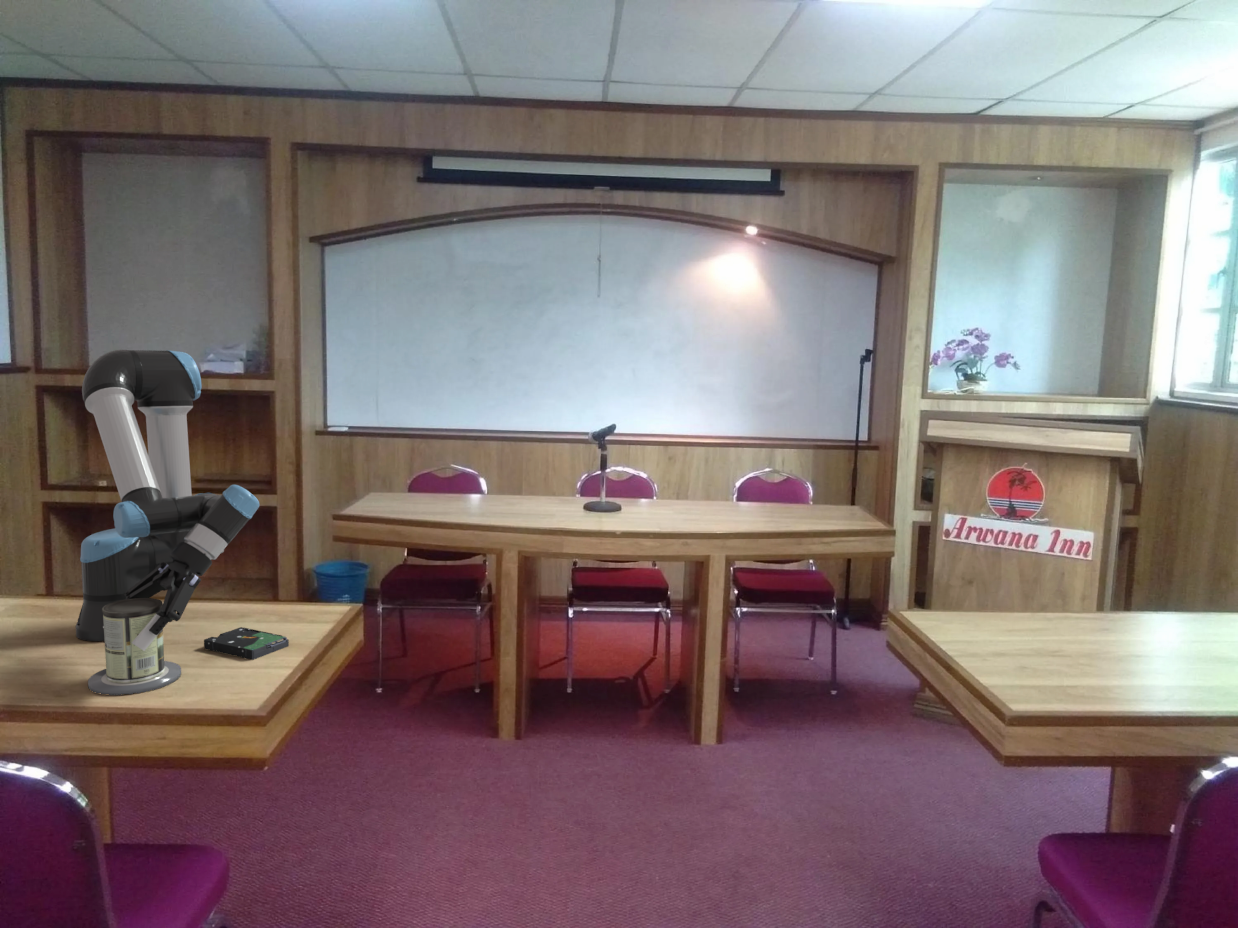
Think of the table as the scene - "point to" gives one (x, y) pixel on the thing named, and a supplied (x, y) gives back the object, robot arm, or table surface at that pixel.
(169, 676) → the grey flat disc
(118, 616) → the coffee can
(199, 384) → the robot arm
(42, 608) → the table surface
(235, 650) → the disk drive
